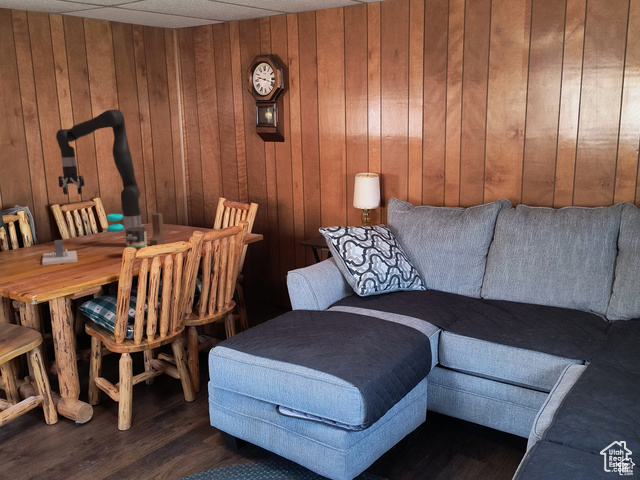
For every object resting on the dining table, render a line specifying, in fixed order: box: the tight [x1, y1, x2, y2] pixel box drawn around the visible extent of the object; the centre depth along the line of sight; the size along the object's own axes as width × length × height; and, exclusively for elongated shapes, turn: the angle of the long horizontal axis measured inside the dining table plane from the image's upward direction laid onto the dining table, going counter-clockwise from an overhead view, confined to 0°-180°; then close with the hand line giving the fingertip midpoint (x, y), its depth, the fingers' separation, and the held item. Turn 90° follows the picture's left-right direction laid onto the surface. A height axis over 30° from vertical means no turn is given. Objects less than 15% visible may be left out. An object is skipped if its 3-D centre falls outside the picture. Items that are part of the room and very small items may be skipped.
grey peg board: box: [42, 248, 78, 266], centre depth 308 cm, size 20×16×4 cm
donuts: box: [105, 213, 125, 232], centre depth 382 cm, size 10×10×10 cm
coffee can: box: [126, 227, 148, 250], centre depth 313 cm, size 10×10×14 cm
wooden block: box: [149, 212, 165, 247], centre depth 333 cm, size 9×4×18 cm, turn 169°
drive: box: [54, 239, 64, 258], centre depth 307 cm, size 5×4×8 cm
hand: (72, 194), depth 338 cm, fingers open, 8 cm apart
